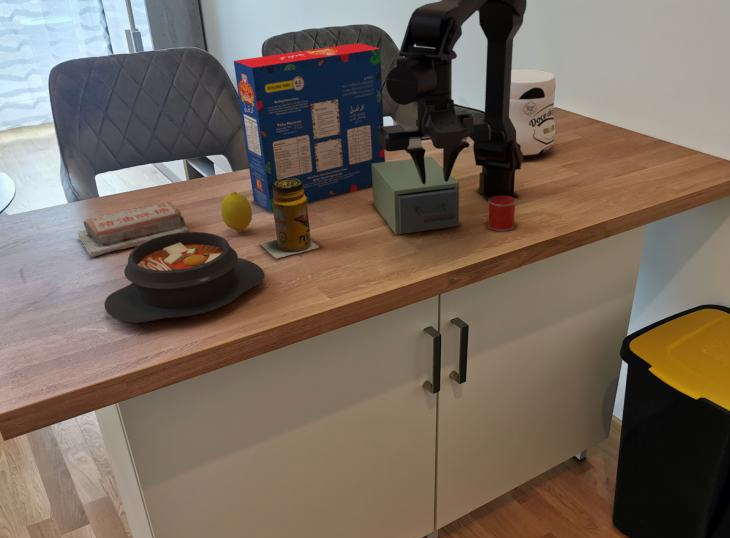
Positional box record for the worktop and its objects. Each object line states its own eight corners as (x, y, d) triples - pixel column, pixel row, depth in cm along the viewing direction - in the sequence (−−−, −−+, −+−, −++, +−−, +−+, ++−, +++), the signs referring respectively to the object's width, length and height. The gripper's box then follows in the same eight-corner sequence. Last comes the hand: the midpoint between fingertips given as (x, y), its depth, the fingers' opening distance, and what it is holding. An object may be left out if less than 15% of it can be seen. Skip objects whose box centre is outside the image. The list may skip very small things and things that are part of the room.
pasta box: (366, 173, 166) (358, 43, 151) (386, 182, 160) (380, 48, 146) (253, 201, 152) (233, 60, 137) (271, 212, 146) (252, 67, 131)
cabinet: (458, 225, 140) (459, 182, 135) (395, 234, 136) (394, 191, 132) (431, 196, 153) (431, 156, 148) (373, 204, 150) (371, 163, 145)
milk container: (558, 163, 171) (565, 83, 161) (484, 163, 171) (487, 84, 161) (548, 141, 185) (554, 67, 176) (481, 141, 186) (483, 68, 176)
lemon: (259, 228, 140) (254, 188, 135) (244, 239, 135) (238, 198, 131) (235, 224, 141) (228, 185, 137) (219, 235, 137) (212, 195, 133)
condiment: (319, 248, 132) (313, 184, 125) (276, 259, 128) (267, 194, 121) (302, 234, 137) (295, 172, 130) (260, 245, 133) (251, 182, 127)
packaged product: (169, 195, 142) (186, 211, 135) (174, 218, 144) (190, 235, 137) (71, 215, 133) (84, 233, 126) (78, 240, 136) (91, 258, 129)
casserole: (133, 349, 103) (119, 297, 99) (90, 301, 115) (76, 253, 111) (287, 295, 116) (281, 247, 112) (234, 257, 129) (226, 212, 124)
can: (507, 219, 142) (509, 194, 139) (518, 229, 138) (520, 203, 135) (483, 222, 141) (484, 197, 138) (493, 232, 137) (494, 206, 134)
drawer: (469, 236, 133) (470, 201, 129) (410, 245, 130) (409, 209, 126) (432, 197, 150) (432, 165, 146) (379, 204, 147) (378, 171, 144)
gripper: (393, 108, 111) (396, 204, 120) (505, 97, 116) (501, 191, 124) (375, 91, 120) (379, 182, 128) (480, 83, 125) (477, 171, 133)
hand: (434, 182), depth 128 cm, fingers open, 4 cm apart
